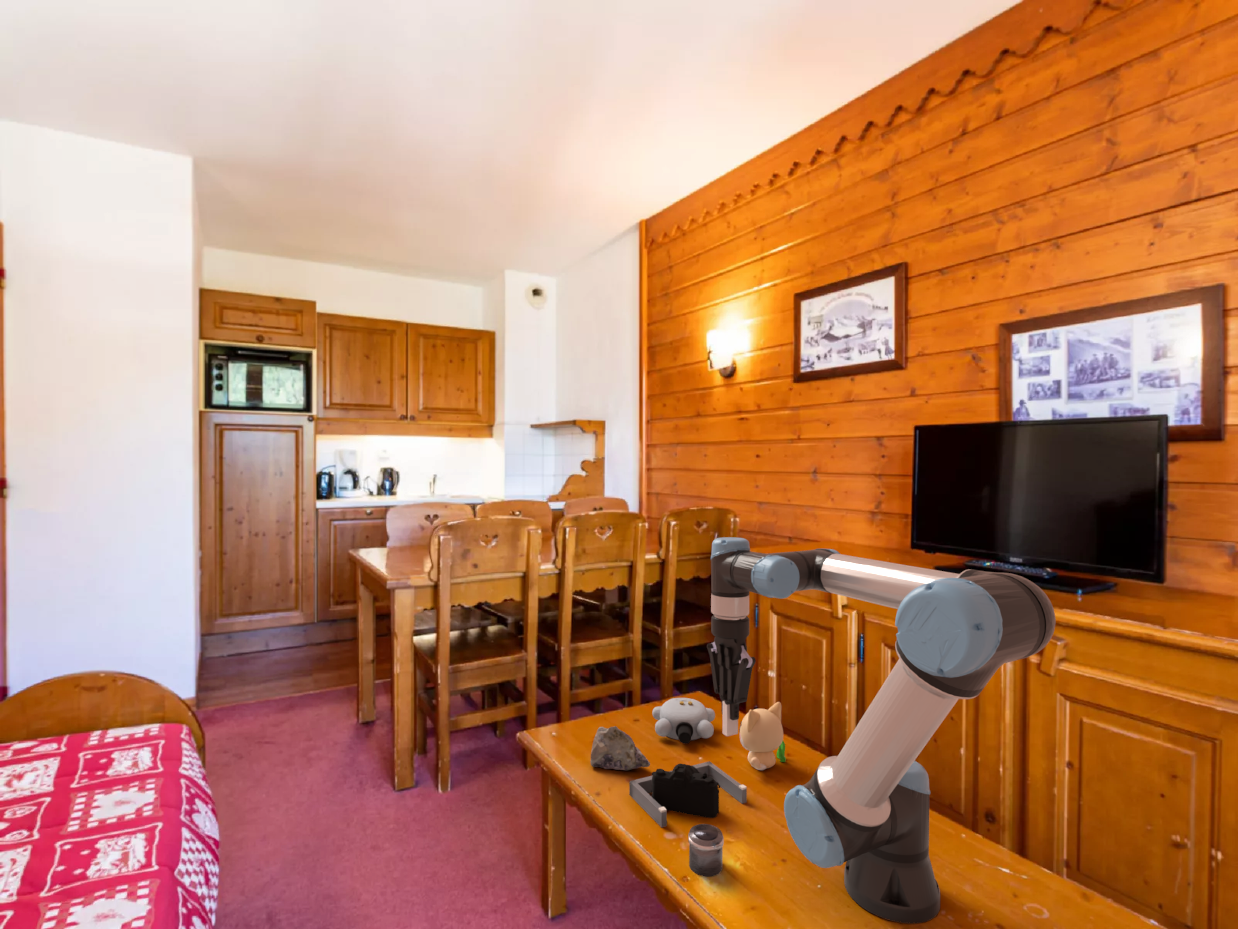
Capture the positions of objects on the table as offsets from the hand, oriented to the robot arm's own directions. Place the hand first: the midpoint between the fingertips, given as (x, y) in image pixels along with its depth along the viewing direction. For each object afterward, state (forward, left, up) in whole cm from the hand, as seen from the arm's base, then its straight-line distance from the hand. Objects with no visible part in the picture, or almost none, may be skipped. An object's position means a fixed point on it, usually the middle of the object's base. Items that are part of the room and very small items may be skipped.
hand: (730, 733), depth 126 cm
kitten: (+19, -24, -20) cm, 37 cm away
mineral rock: (+33, +8, -20) cm, 40 cm away
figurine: (+43, -17, -20) cm, 50 cm away
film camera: (+13, +2, -20) cm, 24 cm away
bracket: (+14, +1, -20) cm, 24 cm away
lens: (-7, +10, -20) cm, 23 cm away
